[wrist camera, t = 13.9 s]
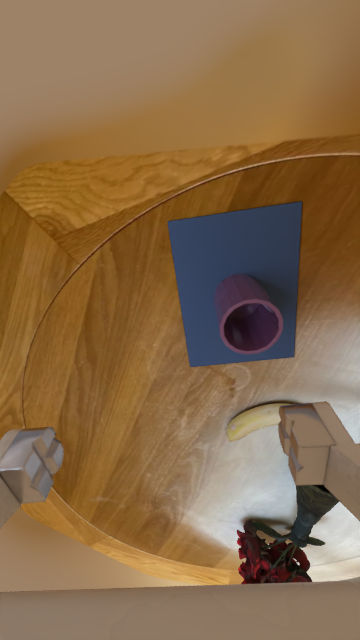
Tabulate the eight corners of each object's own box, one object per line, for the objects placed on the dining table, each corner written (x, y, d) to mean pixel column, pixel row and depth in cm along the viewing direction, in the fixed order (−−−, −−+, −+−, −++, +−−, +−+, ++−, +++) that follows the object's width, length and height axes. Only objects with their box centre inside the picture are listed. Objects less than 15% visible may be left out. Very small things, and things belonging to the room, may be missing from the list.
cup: (211, 277, 36) (217, 303, 28) (262, 270, 35) (284, 295, 27) (215, 321, 39) (222, 357, 30) (262, 316, 38) (282, 351, 30)
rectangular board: (167, 221, 33) (167, 221, 33) (301, 201, 32) (302, 201, 31) (190, 365, 43) (190, 367, 42) (293, 355, 41) (294, 357, 41)
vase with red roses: (291, 415, 57) (265, 518, 71) (234, 462, 46) (216, 572, 60) (376, 468, 46) (325, 578, 59) (326, 546, 35) (279, 658, 49)
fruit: (223, 402, 46) (226, 417, 43) (314, 395, 44) (323, 410, 41) (226, 431, 49) (228, 447, 46) (311, 426, 48) (319, 442, 45)
